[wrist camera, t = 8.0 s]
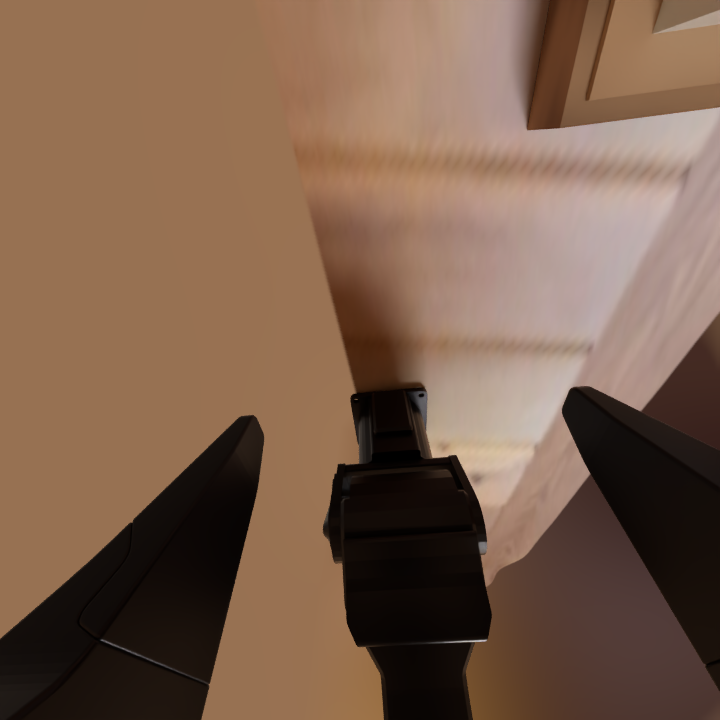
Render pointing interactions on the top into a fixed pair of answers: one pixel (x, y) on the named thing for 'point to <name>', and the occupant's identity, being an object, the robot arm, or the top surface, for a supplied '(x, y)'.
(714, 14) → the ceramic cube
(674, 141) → the top surface
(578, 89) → the walnut plinth
